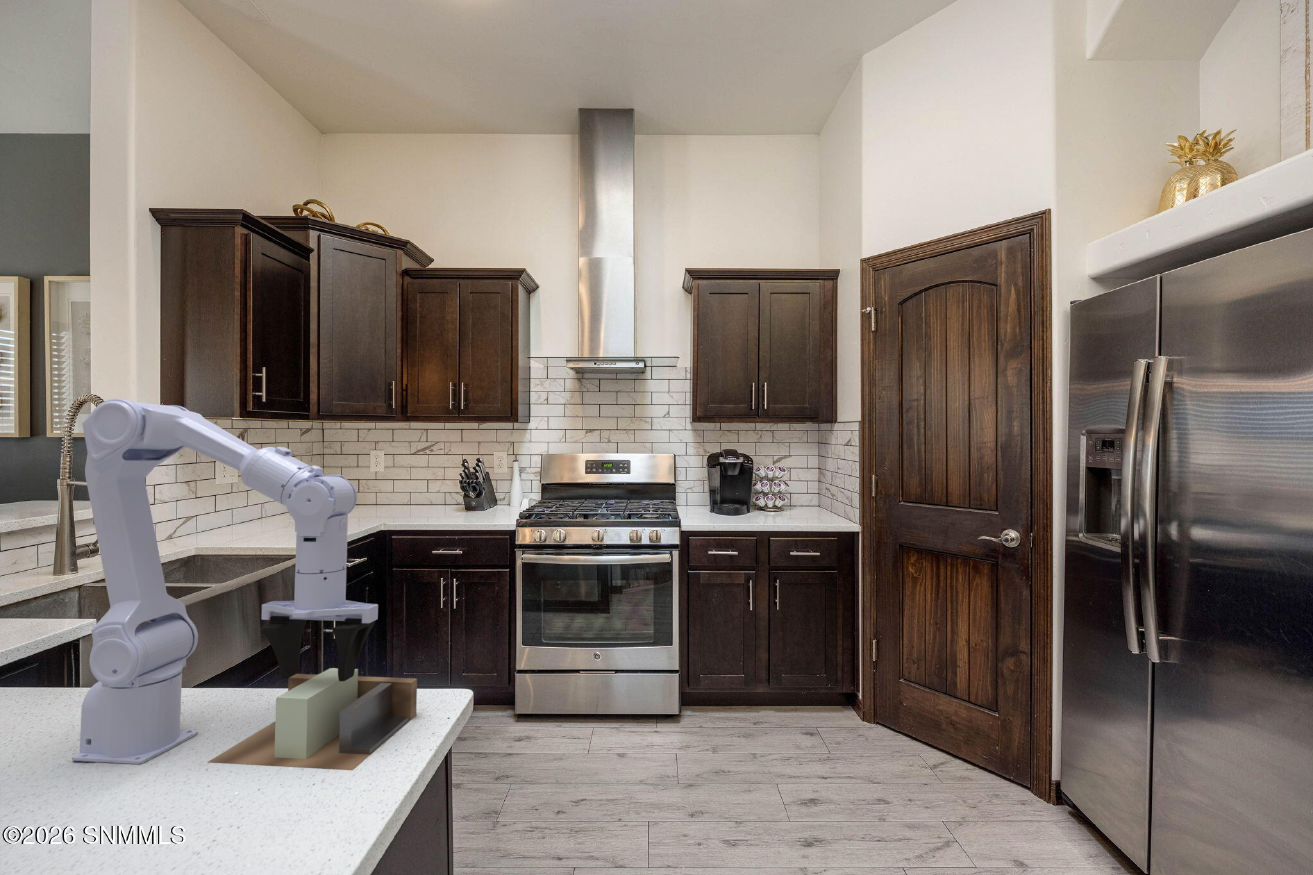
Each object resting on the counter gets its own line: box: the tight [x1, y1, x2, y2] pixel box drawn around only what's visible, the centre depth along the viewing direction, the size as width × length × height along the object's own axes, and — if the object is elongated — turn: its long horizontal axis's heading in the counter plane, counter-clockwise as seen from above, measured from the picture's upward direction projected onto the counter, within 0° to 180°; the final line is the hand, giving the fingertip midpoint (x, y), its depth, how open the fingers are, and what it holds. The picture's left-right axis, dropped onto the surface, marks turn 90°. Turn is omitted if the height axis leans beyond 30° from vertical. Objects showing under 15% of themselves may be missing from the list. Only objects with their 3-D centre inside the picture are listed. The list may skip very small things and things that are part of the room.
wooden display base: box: [207, 673, 418, 771], centre depth 75 cm, size 18×14×6 cm
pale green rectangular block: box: [274, 667, 359, 759], centre depth 74 cm, size 10×4×7 cm, turn 175°
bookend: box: [339, 683, 409, 756], centre depth 75 cm, size 4×9×5 cm, turn 175°
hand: (318, 677), depth 74 cm, fingers open, 7 cm apart
